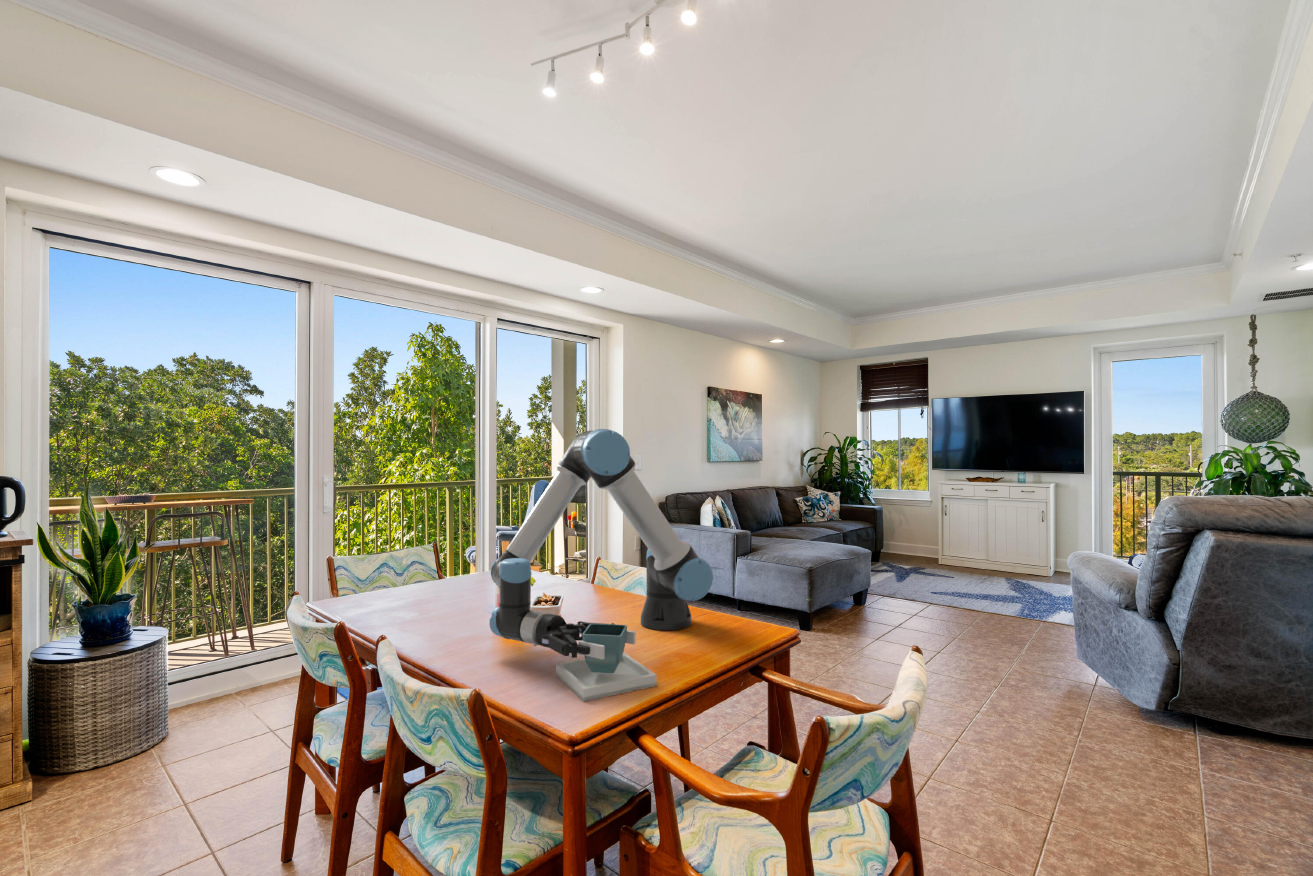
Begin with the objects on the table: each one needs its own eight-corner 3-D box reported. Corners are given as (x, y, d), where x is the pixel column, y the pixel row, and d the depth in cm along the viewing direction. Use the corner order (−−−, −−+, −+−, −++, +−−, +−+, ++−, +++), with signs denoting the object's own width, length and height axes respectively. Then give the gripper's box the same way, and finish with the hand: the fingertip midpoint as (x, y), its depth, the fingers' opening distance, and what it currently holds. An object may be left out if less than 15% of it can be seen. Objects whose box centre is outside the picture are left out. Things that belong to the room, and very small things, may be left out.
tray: (623, 662, 147) (623, 652, 147) (656, 686, 132) (656, 674, 132) (556, 674, 139) (556, 663, 139) (583, 701, 124) (583, 689, 124)
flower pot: (627, 663, 140) (627, 624, 140) (621, 677, 131) (621, 635, 131) (589, 662, 141) (589, 623, 141) (581, 676, 132) (581, 634, 132)
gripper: (575, 633, 155) (648, 647, 144) (508, 659, 135) (586, 679, 124) (576, 603, 155) (648, 615, 144) (508, 625, 135) (586, 642, 124)
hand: (619, 645), depth 134 cm, fingers open, 11 cm apart
